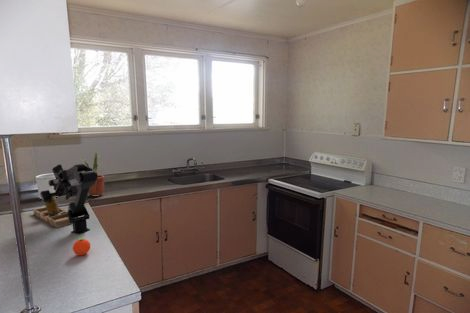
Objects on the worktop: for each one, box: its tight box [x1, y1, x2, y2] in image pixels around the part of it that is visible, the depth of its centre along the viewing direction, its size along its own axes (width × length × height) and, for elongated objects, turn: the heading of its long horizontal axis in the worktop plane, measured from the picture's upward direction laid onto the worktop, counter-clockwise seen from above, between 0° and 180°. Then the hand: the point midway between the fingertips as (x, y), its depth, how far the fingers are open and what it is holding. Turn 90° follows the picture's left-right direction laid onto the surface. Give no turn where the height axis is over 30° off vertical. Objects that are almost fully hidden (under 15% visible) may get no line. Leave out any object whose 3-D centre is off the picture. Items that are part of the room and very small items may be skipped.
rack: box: [32, 206, 78, 229], centre depth 178 cm, size 37×12×3 cm, turn 50°
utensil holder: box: [35, 172, 56, 198], centre depth 223 cm, size 15×15×18 cm
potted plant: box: [80, 150, 105, 196], centre depth 222 cm, size 17×16×35 cm
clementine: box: [72, 237, 91, 256], centre depth 129 cm, size 8×7×7 cm
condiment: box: [44, 197, 65, 217], centre depth 177 cm, size 7×8×12 cm
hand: (57, 201), depth 172 cm, fingers open, 9 cm apart
